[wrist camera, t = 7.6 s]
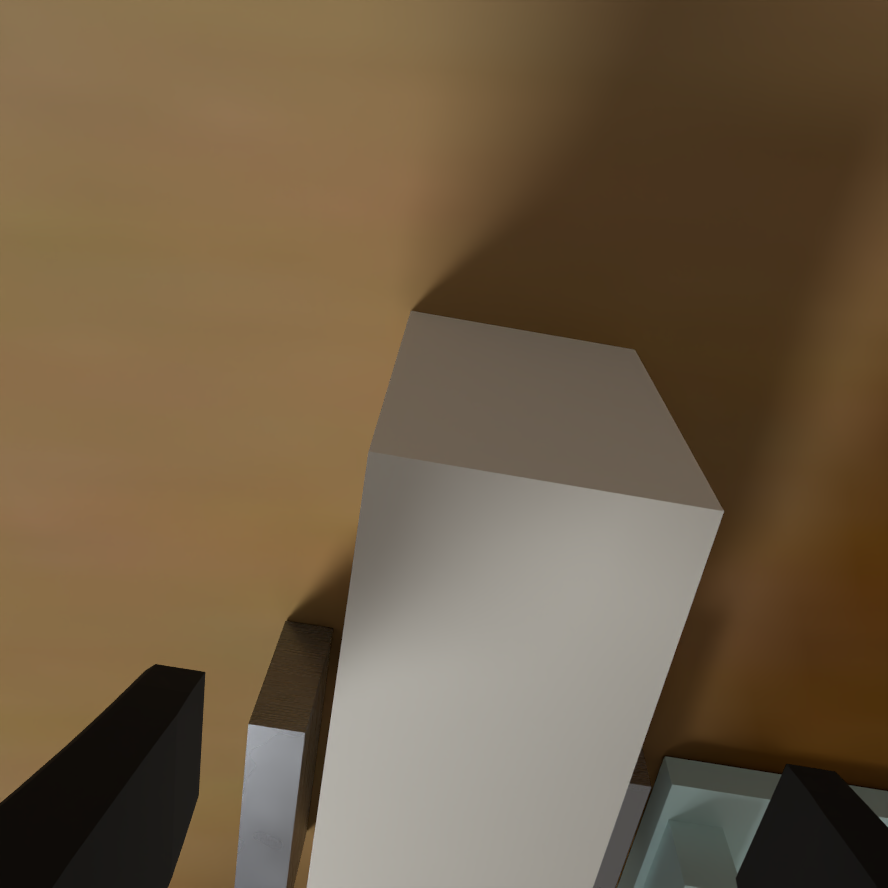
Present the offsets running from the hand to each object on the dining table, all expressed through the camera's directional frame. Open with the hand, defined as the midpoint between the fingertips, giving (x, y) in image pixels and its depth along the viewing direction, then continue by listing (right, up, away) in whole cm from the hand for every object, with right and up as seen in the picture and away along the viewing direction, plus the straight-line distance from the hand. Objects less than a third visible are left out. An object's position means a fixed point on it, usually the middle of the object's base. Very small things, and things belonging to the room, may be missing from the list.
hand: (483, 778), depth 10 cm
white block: (0, +3, +6) cm, 7 cm away
